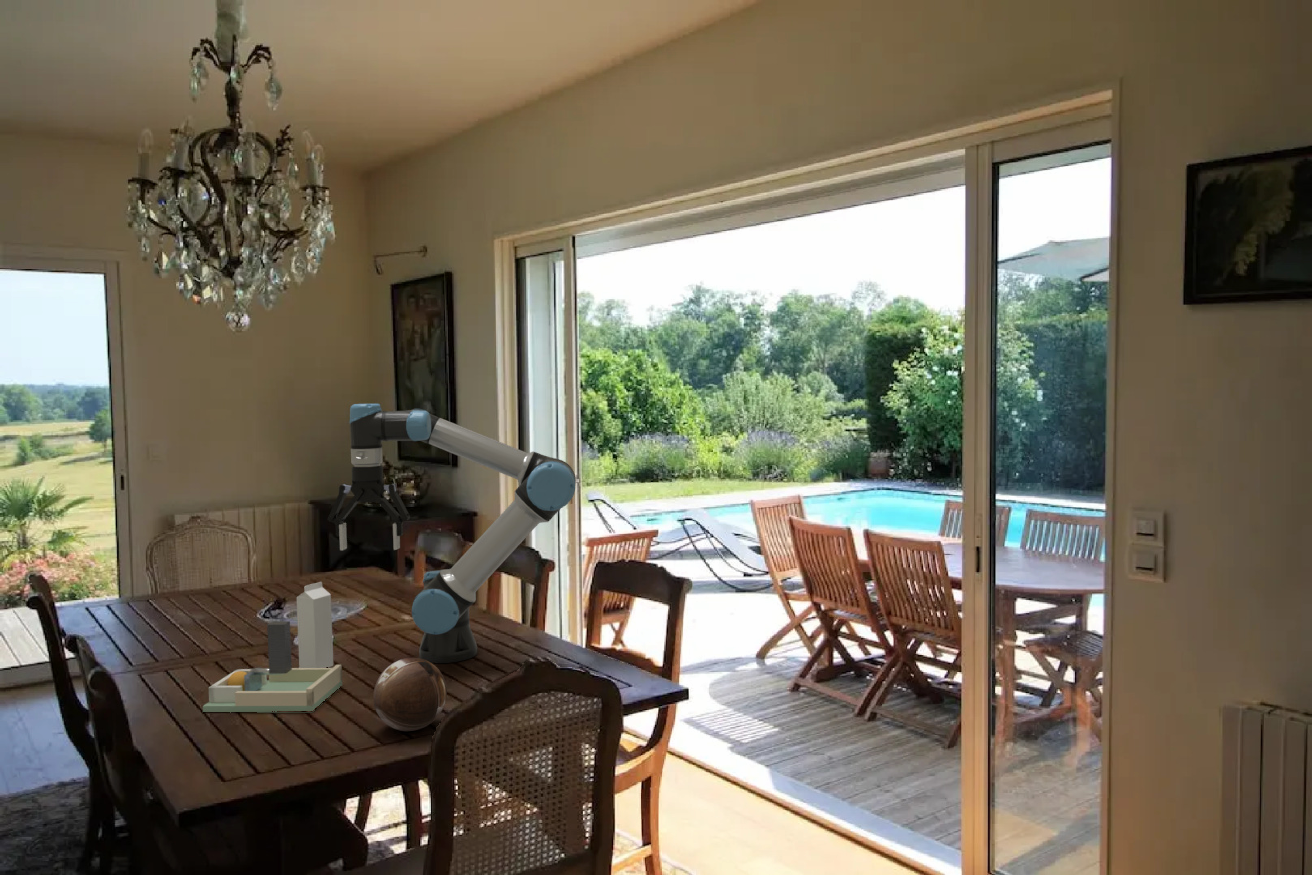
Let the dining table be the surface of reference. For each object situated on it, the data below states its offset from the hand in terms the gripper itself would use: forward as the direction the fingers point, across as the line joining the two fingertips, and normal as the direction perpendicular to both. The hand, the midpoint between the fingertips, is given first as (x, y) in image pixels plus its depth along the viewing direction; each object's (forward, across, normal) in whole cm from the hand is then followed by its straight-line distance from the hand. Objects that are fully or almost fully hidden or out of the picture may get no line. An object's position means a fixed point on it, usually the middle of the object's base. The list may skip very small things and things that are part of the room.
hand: (370, 549), depth 234 cm
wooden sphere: (+32, +21, -38) cm, 54 cm away
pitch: (+32, -17, -19) cm, 41 cm away
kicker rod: (+30, -18, -19) cm, 40 cm away
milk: (+32, -17, +5) cm, 36 cm away
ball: (+28, -25, -19) cm, 42 cm away
